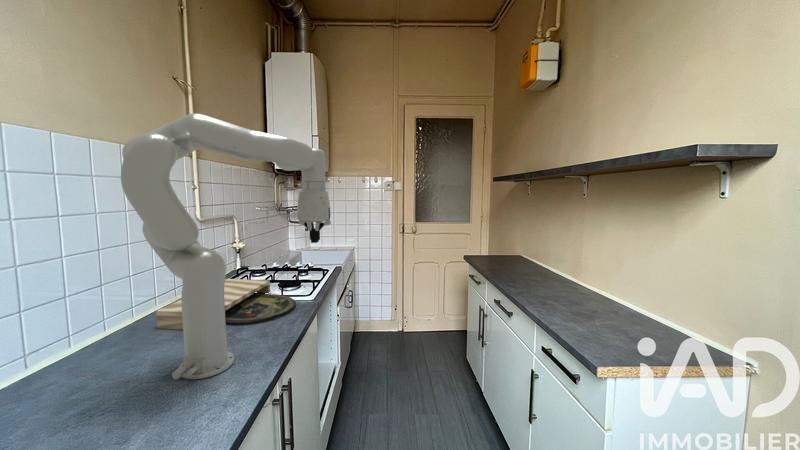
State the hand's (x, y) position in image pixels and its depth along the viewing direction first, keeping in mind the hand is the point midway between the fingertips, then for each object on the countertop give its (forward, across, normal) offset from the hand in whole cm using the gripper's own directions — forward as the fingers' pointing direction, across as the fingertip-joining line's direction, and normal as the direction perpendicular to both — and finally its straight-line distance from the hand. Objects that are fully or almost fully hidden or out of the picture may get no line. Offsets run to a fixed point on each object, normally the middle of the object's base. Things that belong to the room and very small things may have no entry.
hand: (314, 242), depth 109 cm
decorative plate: (+30, -28, +12) cm, 43 cm away
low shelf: (+29, -42, +12) cm, 52 cm away
